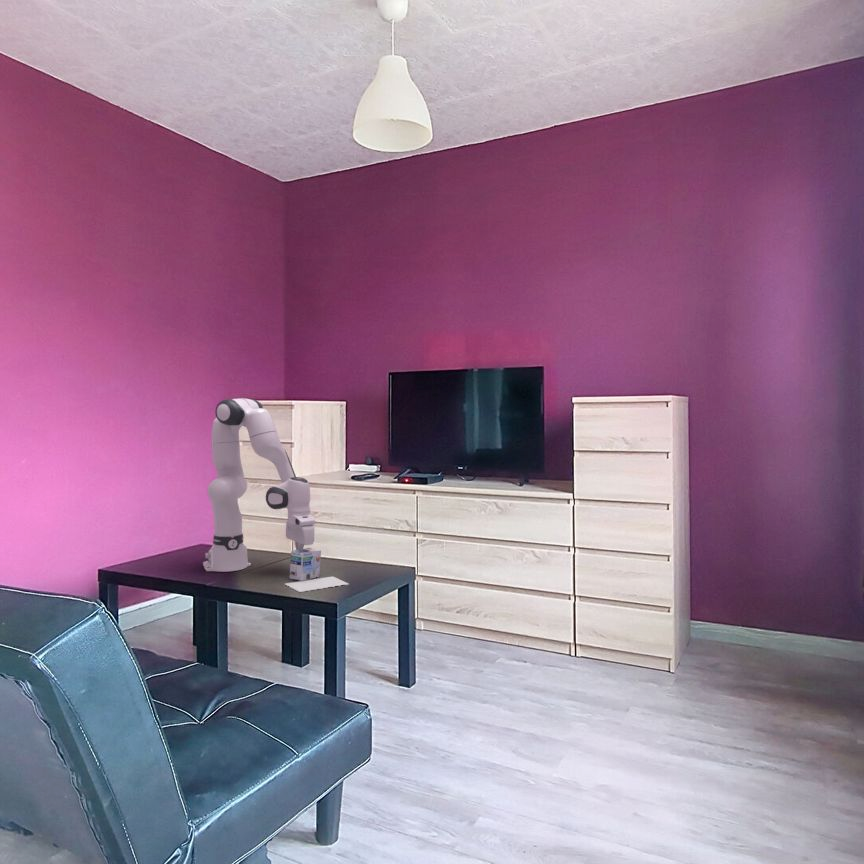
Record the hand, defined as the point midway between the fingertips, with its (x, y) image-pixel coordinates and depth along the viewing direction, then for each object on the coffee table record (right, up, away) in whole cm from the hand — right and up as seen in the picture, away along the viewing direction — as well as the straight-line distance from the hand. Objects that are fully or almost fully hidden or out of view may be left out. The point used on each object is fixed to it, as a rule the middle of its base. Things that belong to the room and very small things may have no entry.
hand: (299, 552), depth 264 cm
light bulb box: (+3, -9, -4) cm, 10 cm away
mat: (+9, -10, -14) cm, 19 cm away
